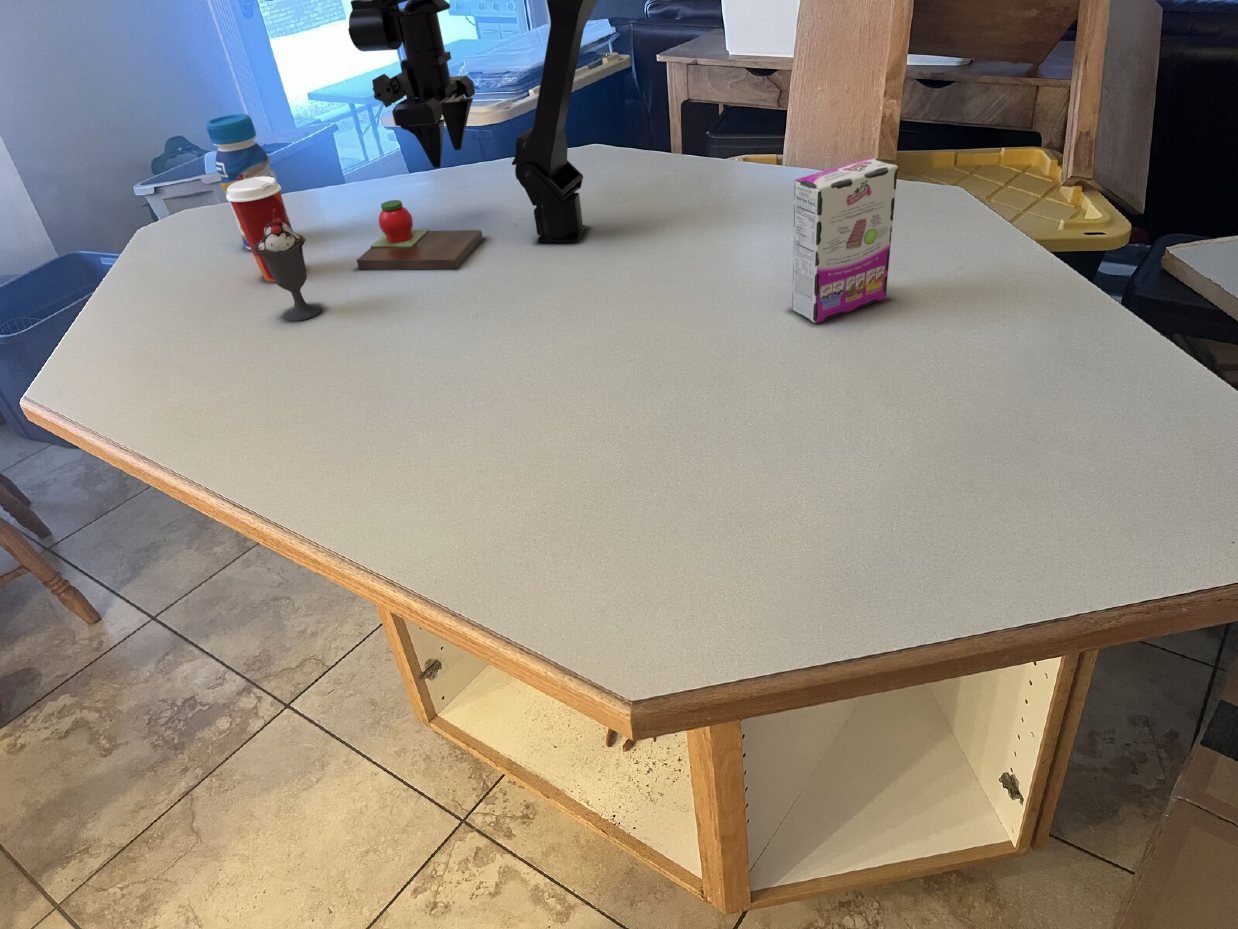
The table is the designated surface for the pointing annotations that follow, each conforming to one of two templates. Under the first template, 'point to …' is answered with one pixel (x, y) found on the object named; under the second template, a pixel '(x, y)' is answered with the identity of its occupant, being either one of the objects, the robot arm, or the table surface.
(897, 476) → the table surface
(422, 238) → the board
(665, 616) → the table surface
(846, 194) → the candy bar box
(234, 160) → the beverage bottle
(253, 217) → the paper cup
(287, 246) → the sundae
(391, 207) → the red rounded piece
